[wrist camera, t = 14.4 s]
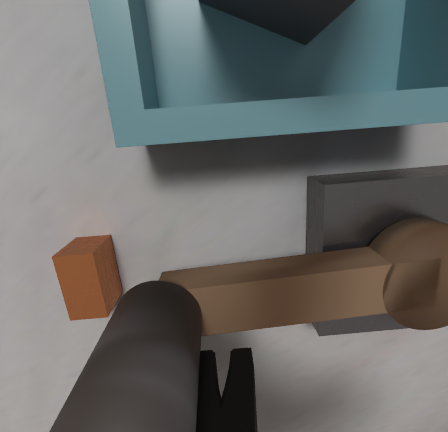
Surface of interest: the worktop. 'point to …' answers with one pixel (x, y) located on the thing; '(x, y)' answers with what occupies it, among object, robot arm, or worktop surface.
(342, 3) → the block
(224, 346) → the worktop surface
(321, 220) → the wooden and grey pieces
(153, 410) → the crank lever
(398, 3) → the tray
